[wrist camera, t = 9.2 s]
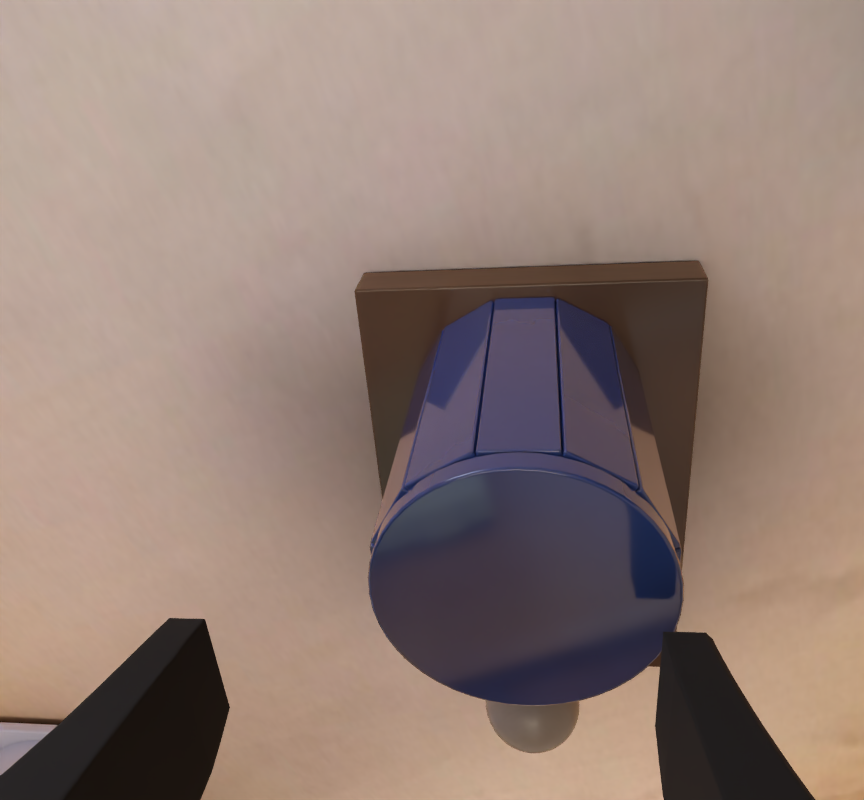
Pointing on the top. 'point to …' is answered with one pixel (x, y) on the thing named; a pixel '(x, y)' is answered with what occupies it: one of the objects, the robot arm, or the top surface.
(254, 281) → the top surface
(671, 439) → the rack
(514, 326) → the blue ribbed canister
